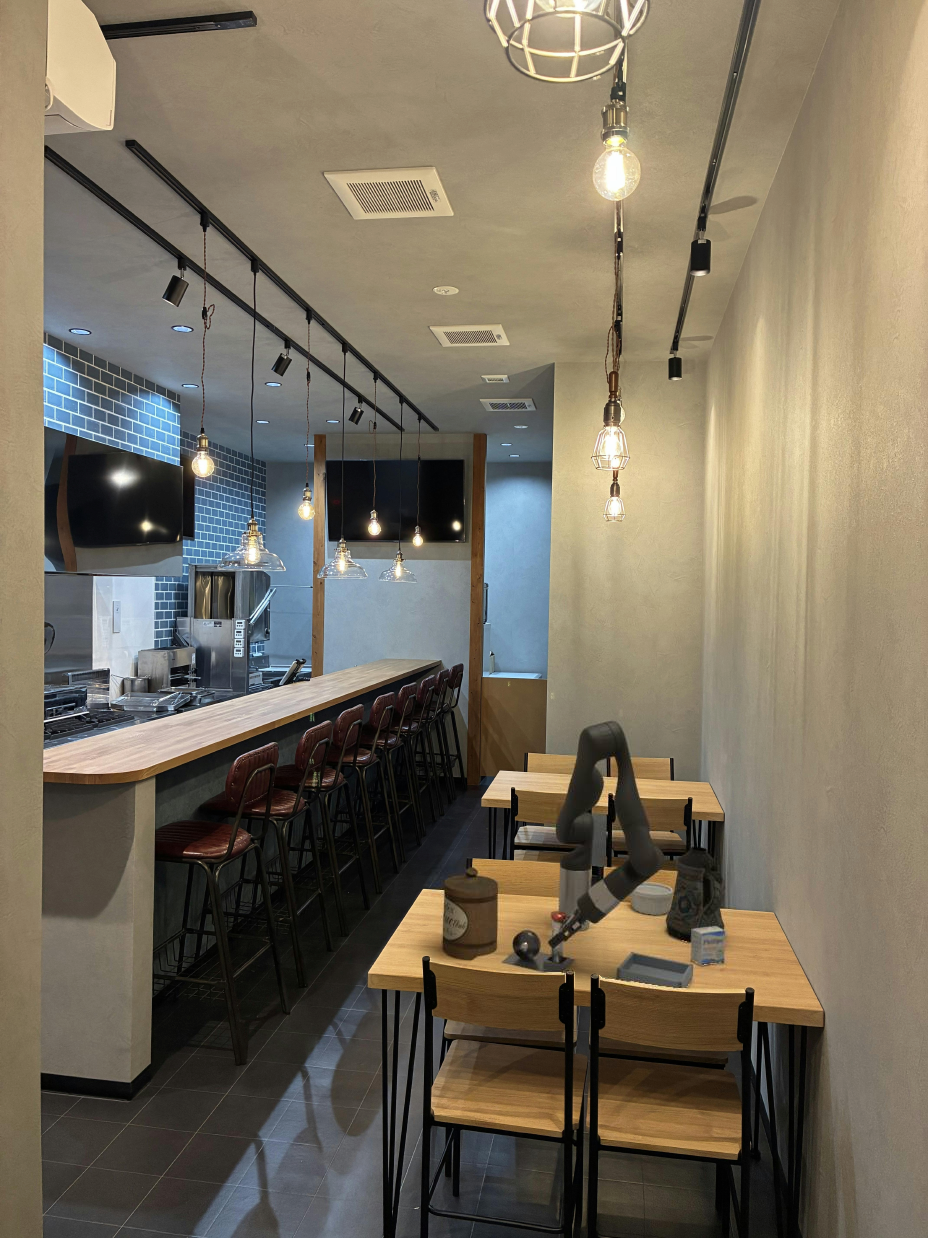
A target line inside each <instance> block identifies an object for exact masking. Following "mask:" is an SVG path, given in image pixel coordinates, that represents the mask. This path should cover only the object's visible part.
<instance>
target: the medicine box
mask: <svg viewBox="0 0 928 1238" xmlns="http://www.w3.org/2000/svg"><path fill="white" fill-rule="evenodd" d="M725 943H726V931H725V929H724V930H723V929H721V928H719V927H717V926H710V927H703V928H695V929H691V943H690V961H691V960H693V961H694V962H693V961H692V962H693V963H695V962H697V963H698V964H700V965H704V964H710V963H718V964H720V963H719V962H723V963H725V951H726V950H725V947H726V945H725ZM697 963H696V964H697ZM698 964H697V965H698ZM700 965H699V966H700Z"/></svg>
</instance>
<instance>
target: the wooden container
mask: <svg viewBox="0 0 928 1238" xmlns="http://www.w3.org/2000/svg"><path fill="white" fill-rule="evenodd" d="M443 884H444V885H443V893H444V894H443V895H444V896H443V913H442V951H443V952H444V953H445V954H446V955H448V956H449V957H452V958H456V959H461V960H470V961H473V960H475V959H477V958H478V957H483V956H488V955H490V954H493V953H495V952H496V951H497V950H498V931H499V929H498V928H499V925H498V923H499V922H498V918H499V916H498V912H499V911H498V910H499V909H498V908H499V907H498V905H499V902H498V901H499V900H498V899H499V897H498V895H499V882H497V880H496V879H494V878H491V877H489V876H488V877H487V876H482V875H479V871H478V870H477V869H476V868H475V867H472V866H470V867H468V868H467V869H466V870H465V875H463V874H462V875H455V876H451V877H448V878H447V879H445V880H444V883H443Z"/></svg>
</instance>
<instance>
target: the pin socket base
mask: <svg viewBox="0 0 928 1238" xmlns="http://www.w3.org/2000/svg"><path fill="white" fill-rule="evenodd" d="M541 946H542V945H541V940H540V937H539V936H538V935H537V934H536V932H534V931H532V930H530V929H523V930H521V931H519V932H518V933H517V934H516V935H515V936H514V938H513V940H512V949H513V952H512V953H510V955H508V956H507V957H506V958H504V960H502V961H501V964H506V965H510V966H514V967H518V968H523V969H528V970H532V971H537V972H541V973H545V972H563V973H564V972H565V971H566V970H567V969H569V967H570V966H572V964H573V963H575V961H576V959H575V958H574V959H573V958H571V957H568V956H564V955H563V963H562V964H561V963H557V962H552V961H551V953H547V952H541V948H542V947H541Z"/></svg>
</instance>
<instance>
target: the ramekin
mask: <svg viewBox="0 0 928 1238" xmlns="http://www.w3.org/2000/svg"><path fill="white" fill-rule="evenodd" d="M673 895H674V890H673V888H672V887H670V886H668V885H665V884H663V883H658V882H651V881H647V882H646V881H645V882H643V883H642V884H641V885H639V886H638V887H637V888H636V889H635V890H634V891H633V892H632V893H631V894H630V901H631V902H630V903H631V907H632V908H633V910H634V911H636V912H637V911H638V913H641V914H643V913H644V914H643V915H648V914H651V915H650V916H662V915H665V914H668V913H669V911H670V908H671V904H672V900H673Z"/></svg>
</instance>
